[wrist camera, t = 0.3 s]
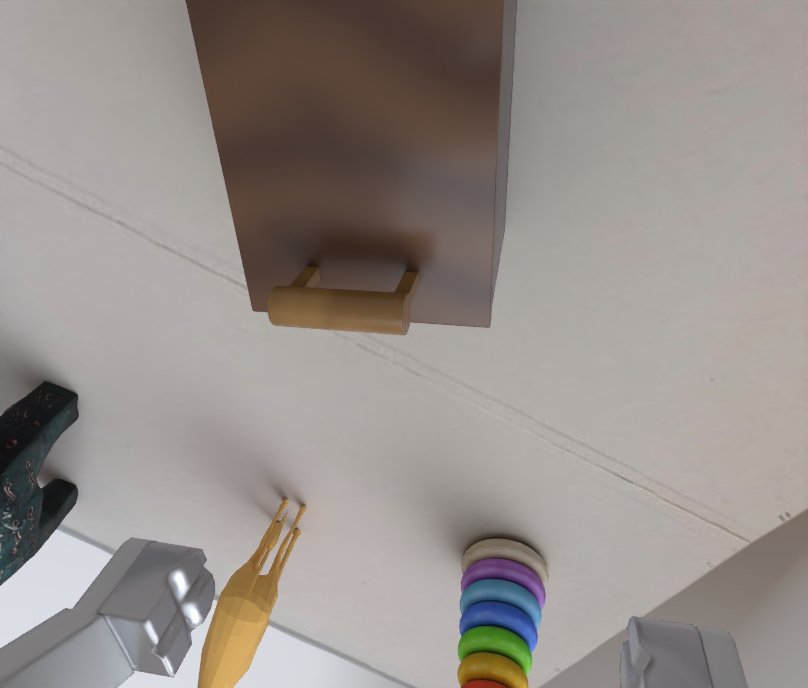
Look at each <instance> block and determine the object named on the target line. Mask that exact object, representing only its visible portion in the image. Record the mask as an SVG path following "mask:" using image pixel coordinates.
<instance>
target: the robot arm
mask: <svg viewBox="0 0 808 688" xmlns="http://www.w3.org/2000/svg"><path fill="white" fill-rule="evenodd" d="M206 560H207V559H206V557H205V554H204V552H203V550H202V549H198V548H192V547H186V546H180V545H174V544H168V543H162V542H157V541H152V540H145V539H139V538H130V539H129V540H127V541H126V542H124V543H123V544H122V545H121V546H120V548H119V549H118V550H117V552H116V553H115V554H114V556H113V557H112V558H111V559H110V561H109V562H108V563H107V565H106V566H105V567H104V568H103V570H102V571H101V572H100V574H99V575H98V576H97V578H96V579H95V580H94V581H93V583H92V584H91V585H90V587H89V588H88V589H87V591H86V592H85V593H84V595H83V596H82V597H81V598H80V600H79V601H78V602H77V603H76V605H75V606H74V608H73V609H68V608H65V609H63V610H62V611H60V612H59V613H57V614H55V615H54V616H52V617H51V618H49V619H47V620H46V621H44V622H42V623H41V624H39V625H38V626H36V627H34V628H33V629H31V630H30V631H28V632H26V633H25V634H23V635H21V636H20V637H18V638H17V639H15V640H13V641H12V642H10V643H8V644H7V645H5V646H4V647H2V648H1V649H0V688H118V687H119V686H120V685H121V684H122V683H123V682H124V681H126V680H127V679H128V678H129V677H130V676H132V675H133V674H134V671H140V672H146V673H151V674H157V675H163V676H168V677H174V675H175V674H176V672H177V670H178V668H179V667H180V665H181V663H182V661H183V659H184V657H185V655H186V653H187V652H188V650H189V648H190V646H191V645H192V640H191V631H192V630H194V629H195V628H196V627H198V626H199V625H200V624H202V623H203V622H204V620H205V618H206V617H207V615H208V613H209V611H210V609H211V606H212V602H213V598H214V595H215V581H214V579H213V576H212V574H211V573H210V572H209V571H208V570H207V569H206V568H205V567H203V566H204V564H205V562H206ZM627 629H628V638H629V640H627V641H626V642H624V643H623V646H622V651H621V658H620V687H621V688H748V685H747V682H746V678H745V675H744V671H743V668H742V665H741V661H740V658H739V655H738V651H737V648H736V644H735V641H734V639H733V637H732V636H731V635H730V633H729V632H728V631H726V630H721V629H714V628H706V627H699V626H694V625H692V624H685V623H677V622H670V621H663V620H656V619H649V618H642V617H634V616H632V617H631V618H630V620H629V623H628V627H627ZM133 670H134V671H133Z"/></svg>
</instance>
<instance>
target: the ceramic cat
mask: <svg viewBox="0 0 808 688" xmlns="http://www.w3.org/2000/svg"><path fill="white" fill-rule="evenodd" d="M77 400H78V395H75V394H74V393H72V392H69V391H67V390H65V389H63V388H61V387H58V386H56V385H53V384H50V383H48V382H46V381H44V382H43V383H42V384H41V385H39V386H38V387H37V388H36V389H34V390H33V391H32V392H31V393H29V394H28V395H27V396H26V397H24V398H23V399H21V400H20V401H18V402H17V403H15V404H14V405H12V406H11V407H9V408H8V409H7V410H6V411H5V412H4V413H3V414H2V415H1V416H0V585H2V584H3V583H4V582H5V581H6V580H7V579H9V578H10V577H11V576H12V575H13V574H14V573H15V572H17V570H19V569H20V568H21V567H22V566H23V565H24V564H25V563H26V562H27V561H28V560H29V559H30V558H32V557H33V556H34V555H35V554H36V553H37V552H38V550H39V549H40V548H41V547H42V546H43V544H44V543H45V542H46V541H47V540H48V539H49V537H50V536H51V535H52V533H53V532H54V531H55V530H56V529H57V528H58V526H59V525H60V523H61V522H62V520H63V519H64V518H65V516H66V515H67V514H68V513H69V512H70V511H71V510H72V508H73V507H74V505H75V504H76V500H77V496H78V492H77V488H76V486H74V485H71V484H68V483H66V482H65V481H62V480H60V479H53V480H52V481H51V482H50V483H48V484H47V485H45V486H44V487H42V488H40V487H39V485H38V483H37V475H38V473H39V470H40V468H41V466H42V464H43V462H44V460H45V458H46V456H47V455H48V453H49V451H50V449H51V447H52V446H53V444H54V443H55V442H56V440H57V439H58V438H59V437H60V435H61V434H62V433H63V432H64V431H65V430H66V429H67V428H68V427H69V426H71V425H72V424H73V423H74V422H75V421H76V420H77V419H78V411H77Z"/></svg>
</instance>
